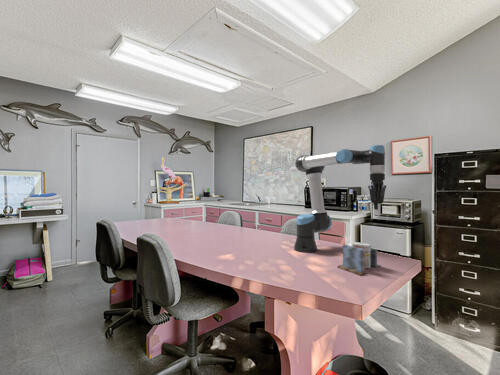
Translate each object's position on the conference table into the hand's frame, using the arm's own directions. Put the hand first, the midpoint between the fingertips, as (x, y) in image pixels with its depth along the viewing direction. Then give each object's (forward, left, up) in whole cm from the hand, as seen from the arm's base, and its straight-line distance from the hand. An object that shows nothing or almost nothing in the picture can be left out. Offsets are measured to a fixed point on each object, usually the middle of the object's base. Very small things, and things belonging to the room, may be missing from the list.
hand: (377, 215), depth 146 cm
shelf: (+3, -14, -26) cm, 30 cm away
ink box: (+3, -17, -26) cm, 31 cm away
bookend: (+3, -11, -25) cm, 28 cm away
